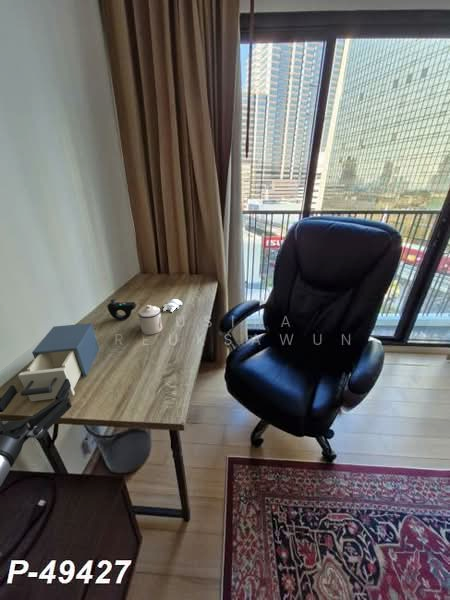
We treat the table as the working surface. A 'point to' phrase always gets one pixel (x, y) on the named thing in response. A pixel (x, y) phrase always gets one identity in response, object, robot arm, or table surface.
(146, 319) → the teacup with lid
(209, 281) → the table surface
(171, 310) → the astronaut figurine
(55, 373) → the drawer
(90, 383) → the table surface
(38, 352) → the blue cabinet box
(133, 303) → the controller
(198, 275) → the table surface
